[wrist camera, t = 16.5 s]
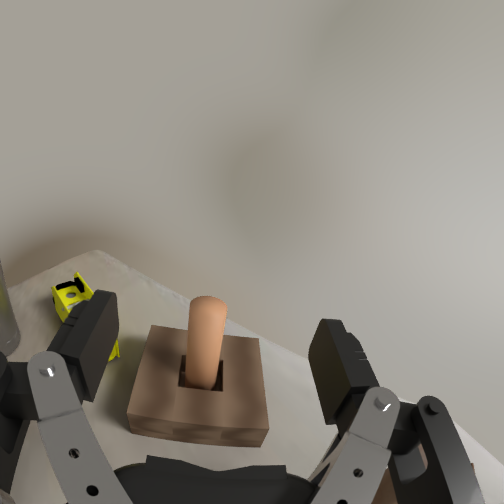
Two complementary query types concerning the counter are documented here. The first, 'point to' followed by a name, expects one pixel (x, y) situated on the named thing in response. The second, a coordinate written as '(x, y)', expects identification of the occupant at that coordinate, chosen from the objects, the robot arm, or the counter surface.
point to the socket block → (199, 394)
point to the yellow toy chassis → (74, 300)
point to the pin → (204, 342)
